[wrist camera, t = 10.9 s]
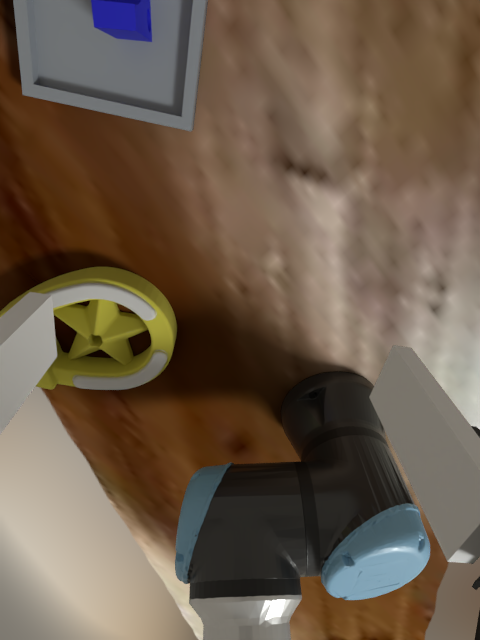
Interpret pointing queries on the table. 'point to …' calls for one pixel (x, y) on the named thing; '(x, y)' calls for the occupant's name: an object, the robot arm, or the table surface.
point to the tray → (113, 60)
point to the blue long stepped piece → (123, 18)
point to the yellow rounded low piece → (107, 328)
